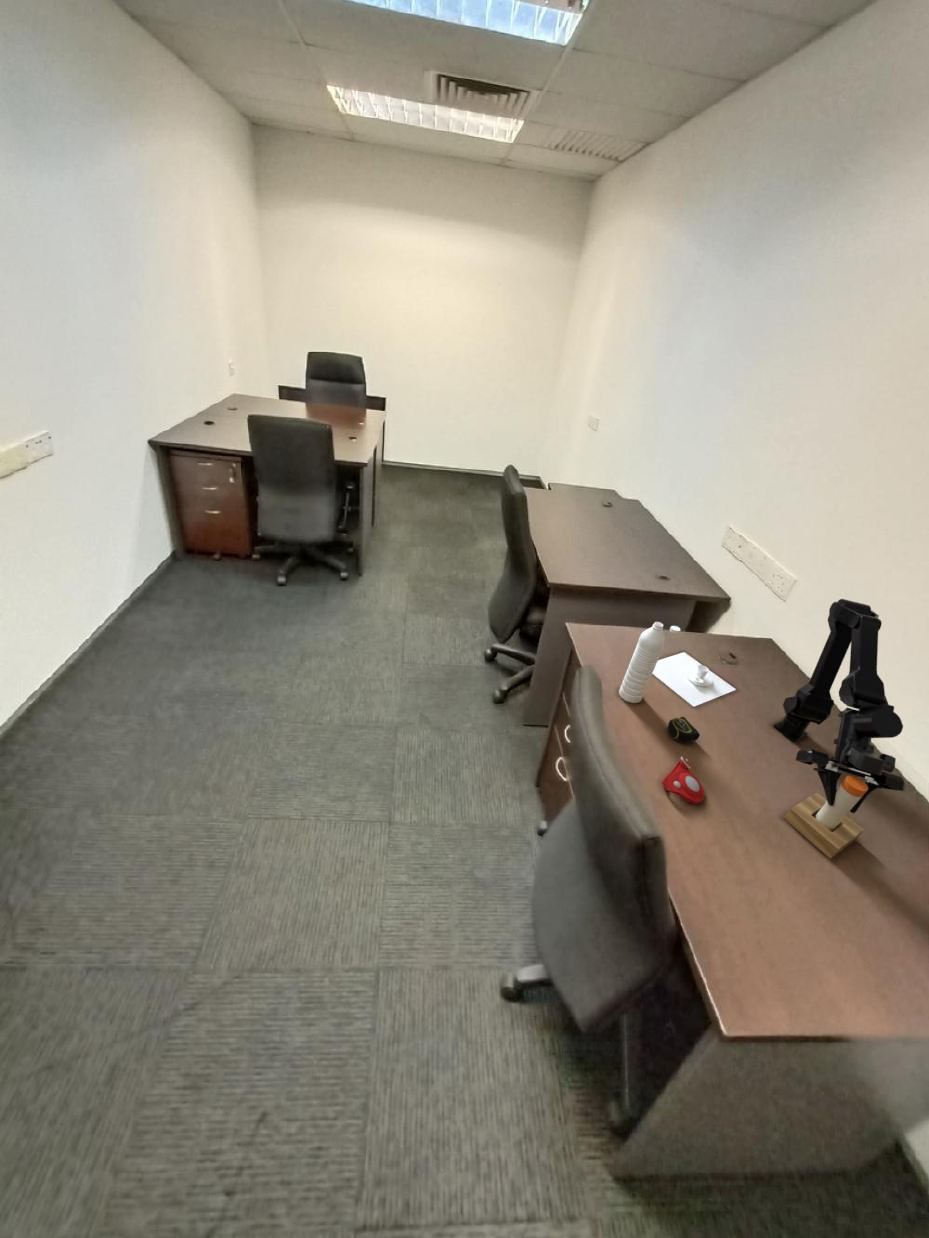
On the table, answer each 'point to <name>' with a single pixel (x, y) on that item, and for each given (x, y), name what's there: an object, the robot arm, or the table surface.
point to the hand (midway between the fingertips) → (841, 809)
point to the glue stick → (842, 802)
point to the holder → (822, 826)
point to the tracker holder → (684, 783)
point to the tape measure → (682, 730)
